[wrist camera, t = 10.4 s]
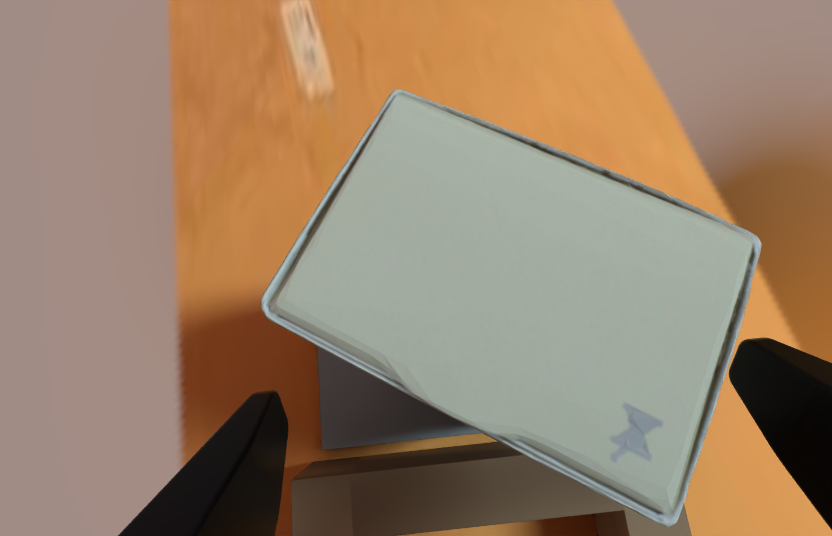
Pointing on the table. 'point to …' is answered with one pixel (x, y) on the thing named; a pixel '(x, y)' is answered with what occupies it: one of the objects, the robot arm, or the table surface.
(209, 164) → the table surface
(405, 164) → the skincare box
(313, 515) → the square wooden frame
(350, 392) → the slate mat
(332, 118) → the table surface
